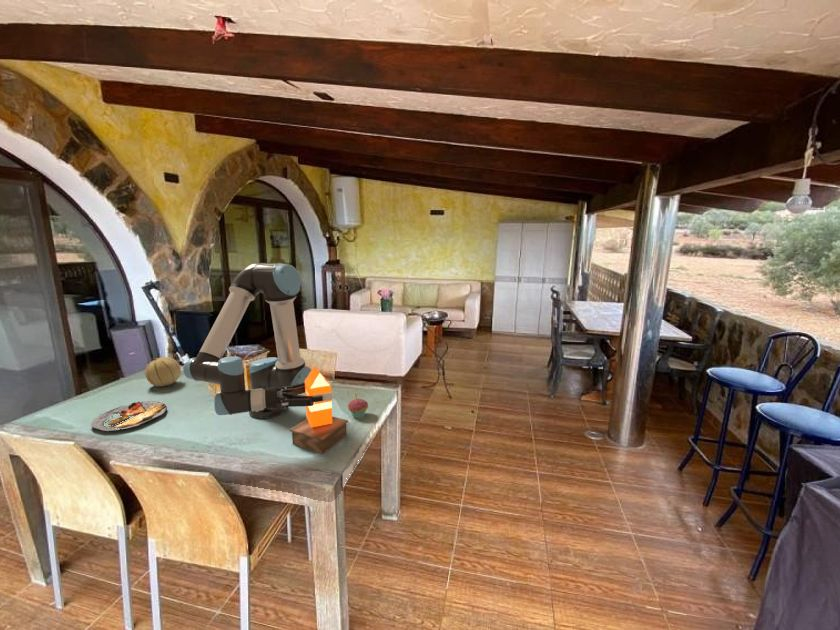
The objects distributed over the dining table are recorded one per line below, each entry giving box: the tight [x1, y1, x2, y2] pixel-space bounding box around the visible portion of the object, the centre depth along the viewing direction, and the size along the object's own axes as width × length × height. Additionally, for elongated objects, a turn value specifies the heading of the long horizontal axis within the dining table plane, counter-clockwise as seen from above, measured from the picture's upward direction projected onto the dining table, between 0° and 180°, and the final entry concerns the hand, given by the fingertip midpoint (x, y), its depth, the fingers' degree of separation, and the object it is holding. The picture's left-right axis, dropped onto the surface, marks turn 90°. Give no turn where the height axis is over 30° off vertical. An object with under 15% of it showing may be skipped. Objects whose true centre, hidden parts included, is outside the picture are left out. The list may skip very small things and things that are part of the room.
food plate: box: [90, 400, 168, 432], centre depth 159 cm, size 25×23×4 cm
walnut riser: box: [289, 415, 349, 454], centre depth 144 cm, size 15×15×6 cm
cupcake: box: [347, 391, 369, 419], centre depth 162 cm, size 9×8×12 cm
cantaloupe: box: [144, 356, 182, 387], centre depth 192 cm, size 15×15×15 cm
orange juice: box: [304, 365, 333, 427], centre depth 140 cm, size 8×9×20 cm
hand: (330, 390), depth 142 cm, fingers closed on orange juice, 9 cm apart
